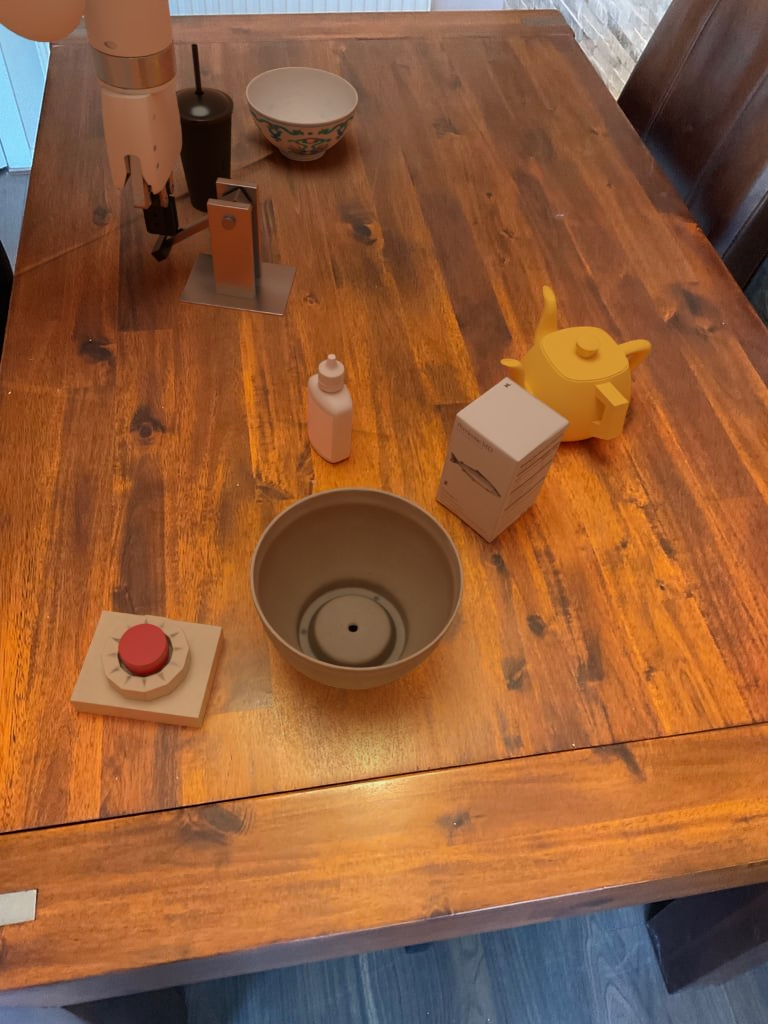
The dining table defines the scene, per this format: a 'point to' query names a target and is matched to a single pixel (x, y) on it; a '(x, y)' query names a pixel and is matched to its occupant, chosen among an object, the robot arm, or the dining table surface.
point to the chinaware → (301, 109)
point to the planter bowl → (355, 585)
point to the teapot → (579, 374)
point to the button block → (158, 695)
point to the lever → (191, 229)
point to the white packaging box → (499, 457)
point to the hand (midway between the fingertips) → (163, 230)
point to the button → (144, 649)
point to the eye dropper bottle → (329, 411)
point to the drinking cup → (204, 137)
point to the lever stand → (237, 259)
